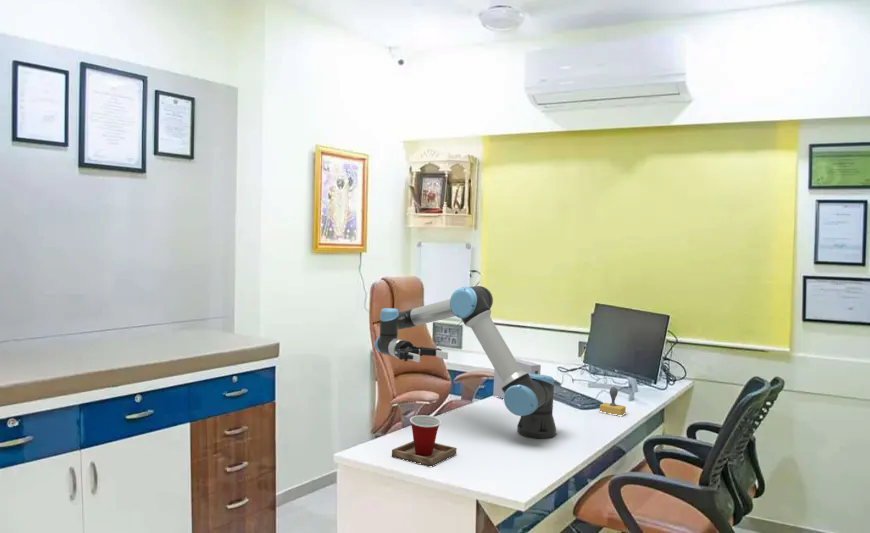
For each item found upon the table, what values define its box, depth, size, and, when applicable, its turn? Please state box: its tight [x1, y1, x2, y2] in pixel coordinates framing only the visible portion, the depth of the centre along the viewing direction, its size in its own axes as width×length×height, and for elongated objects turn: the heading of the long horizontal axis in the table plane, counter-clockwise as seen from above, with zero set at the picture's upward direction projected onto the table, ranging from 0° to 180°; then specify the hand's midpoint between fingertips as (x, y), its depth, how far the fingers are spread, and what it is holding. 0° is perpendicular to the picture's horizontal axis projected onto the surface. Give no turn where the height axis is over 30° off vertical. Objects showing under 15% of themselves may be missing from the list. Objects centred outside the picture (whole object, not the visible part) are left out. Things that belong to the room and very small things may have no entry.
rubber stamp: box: [599, 386, 627, 416], centre depth 294 cm, size 10×6×12 cm, turn 55°
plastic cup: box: [409, 414, 442, 456], centre depth 226 cm, size 11×11×12 cm
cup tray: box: [391, 440, 458, 467], centre depth 227 cm, size 16×16×2 cm
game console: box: [492, 357, 542, 400], centre depth 308 cm, size 6×27×20 cm, turn 31°
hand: (433, 357), depth 254 cm, fingers open, 13 cm apart
